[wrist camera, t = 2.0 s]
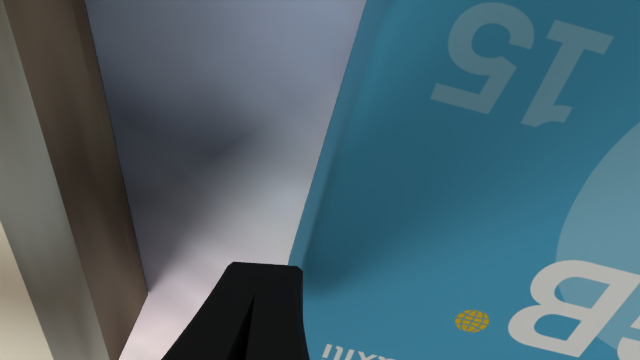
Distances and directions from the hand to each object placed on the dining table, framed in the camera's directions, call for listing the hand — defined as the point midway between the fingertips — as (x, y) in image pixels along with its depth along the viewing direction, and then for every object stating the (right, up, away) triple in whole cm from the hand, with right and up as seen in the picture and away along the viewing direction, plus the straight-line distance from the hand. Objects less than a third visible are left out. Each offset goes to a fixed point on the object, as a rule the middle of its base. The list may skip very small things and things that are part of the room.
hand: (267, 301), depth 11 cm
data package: (+8, +6, -1) cm, 10 cm away
